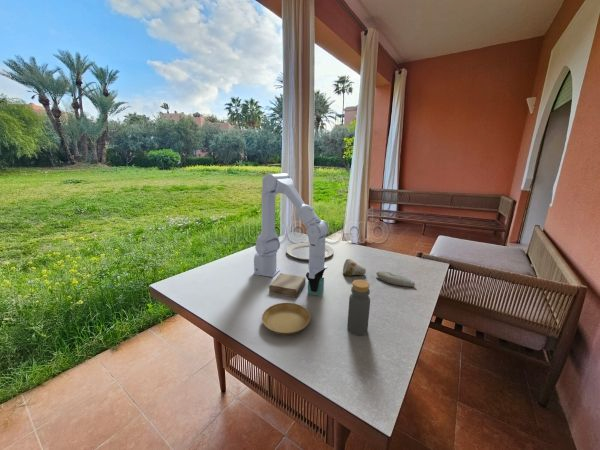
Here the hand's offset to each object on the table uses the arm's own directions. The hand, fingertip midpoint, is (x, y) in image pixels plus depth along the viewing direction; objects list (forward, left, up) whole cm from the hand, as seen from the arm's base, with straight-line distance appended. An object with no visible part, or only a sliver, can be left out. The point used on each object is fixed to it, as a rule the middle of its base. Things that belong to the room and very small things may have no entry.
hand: (315, 287), depth 93 cm
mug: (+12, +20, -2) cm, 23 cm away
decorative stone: (+29, +18, -2) cm, 34 cm away
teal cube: (0, 0, -2) cm, 2 cm away
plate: (-13, +38, -2) cm, 40 cm away
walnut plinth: (-11, -1, -2) cm, 11 cm away
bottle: (+17, -17, -2) cm, 24 cm away
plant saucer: (-4, -21, -2) cm, 21 cm away
